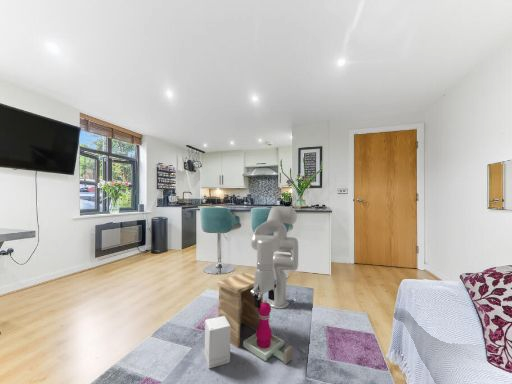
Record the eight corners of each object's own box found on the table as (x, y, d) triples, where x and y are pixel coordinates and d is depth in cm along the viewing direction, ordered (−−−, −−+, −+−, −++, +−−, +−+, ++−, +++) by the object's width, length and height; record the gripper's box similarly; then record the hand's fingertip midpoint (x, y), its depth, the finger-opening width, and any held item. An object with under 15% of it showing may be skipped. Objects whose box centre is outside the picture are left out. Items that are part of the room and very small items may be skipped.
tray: (261, 334, 111) (262, 323, 111) (297, 353, 98) (297, 342, 98) (243, 346, 101) (243, 335, 101) (279, 370, 88) (280, 357, 88)
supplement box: (230, 363, 92) (231, 326, 92) (208, 369, 88) (209, 330, 88) (224, 349, 100) (225, 315, 100) (204, 354, 96) (204, 319, 97)
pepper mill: (259, 351, 97) (260, 304, 98) (253, 341, 104) (254, 297, 104) (274, 346, 100) (275, 301, 101) (267, 337, 107) (268, 294, 107)
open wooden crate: (244, 320, 124) (245, 272, 124) (263, 330, 114) (264, 279, 115) (216, 335, 109) (217, 281, 110) (236, 349, 100) (237, 290, 101)
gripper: (270, 260, 112) (270, 294, 112) (245, 269, 99) (245, 307, 99) (282, 263, 107) (282, 299, 107) (258, 273, 94) (258, 314, 94)
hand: (264, 303), depth 103 cm, fingers open, 9 cm apart
